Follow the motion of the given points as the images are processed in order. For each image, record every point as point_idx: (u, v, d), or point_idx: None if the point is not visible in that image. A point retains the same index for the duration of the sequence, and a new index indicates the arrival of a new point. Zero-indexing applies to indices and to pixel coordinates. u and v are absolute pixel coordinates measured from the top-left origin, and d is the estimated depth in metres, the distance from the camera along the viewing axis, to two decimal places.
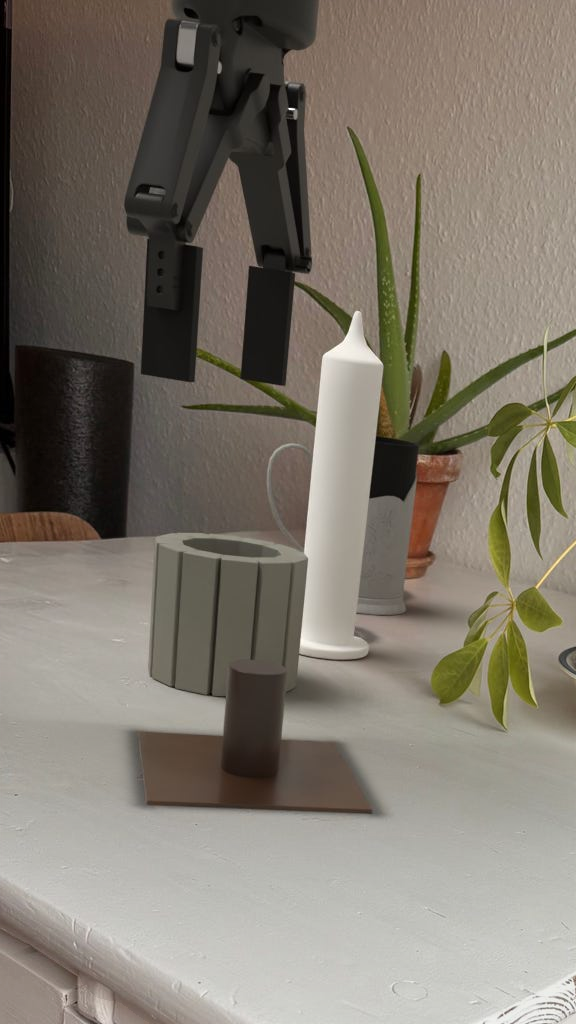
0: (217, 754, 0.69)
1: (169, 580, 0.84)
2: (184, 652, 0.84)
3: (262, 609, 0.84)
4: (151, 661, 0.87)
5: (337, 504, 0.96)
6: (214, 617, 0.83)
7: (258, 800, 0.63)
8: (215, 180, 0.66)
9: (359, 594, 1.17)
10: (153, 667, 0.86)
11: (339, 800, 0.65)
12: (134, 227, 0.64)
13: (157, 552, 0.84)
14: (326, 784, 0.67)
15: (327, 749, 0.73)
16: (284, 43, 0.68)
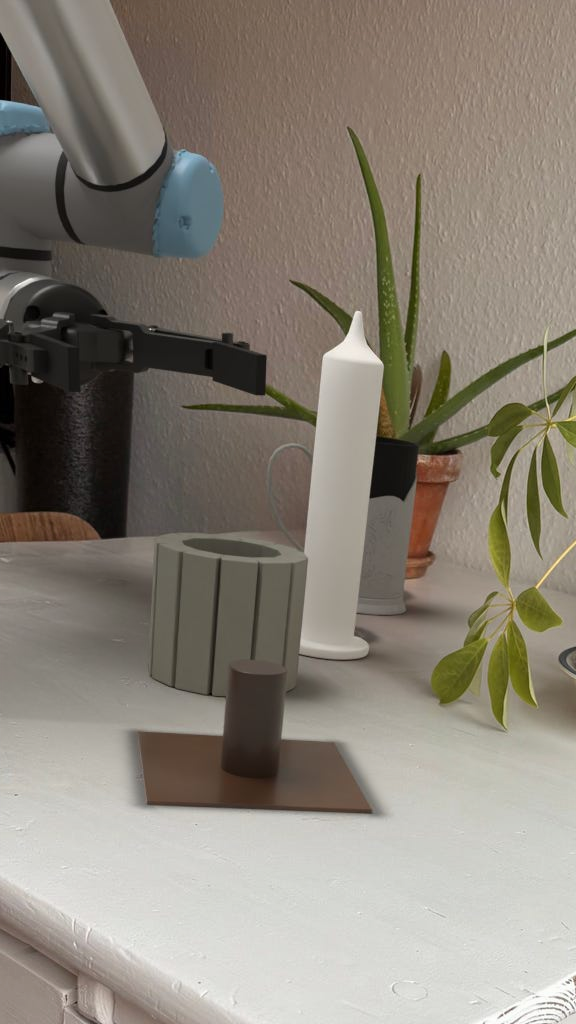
0: (217, 754, 0.69)
1: (169, 580, 0.84)
2: (184, 652, 0.84)
3: (262, 609, 0.84)
4: (151, 661, 0.87)
5: (337, 504, 0.96)
6: (214, 617, 0.83)
7: (258, 800, 0.63)
8: (176, 371, 0.97)
9: (359, 594, 1.17)
10: (153, 667, 0.86)
11: (339, 800, 0.65)
12: (232, 339, 0.95)
13: (157, 552, 0.84)
14: (326, 784, 0.67)
15: (327, 749, 0.73)
16: None
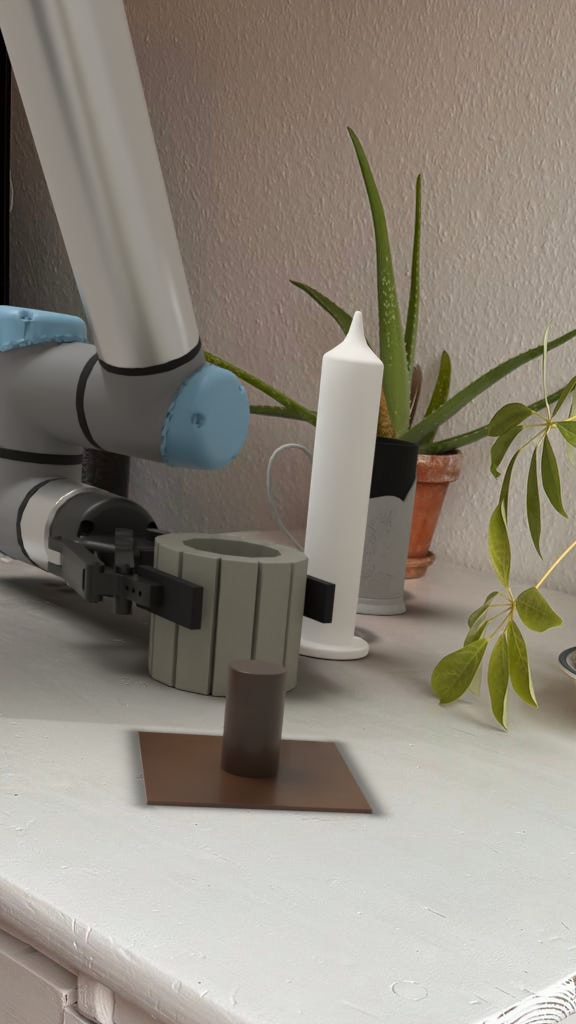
0: (217, 754, 0.69)
1: None
2: (184, 652, 0.84)
3: (262, 609, 0.84)
4: (151, 661, 0.87)
5: (337, 504, 0.96)
6: (215, 617, 0.83)
7: (258, 800, 0.63)
8: None
9: (359, 594, 1.17)
10: (153, 667, 0.86)
11: (339, 800, 0.65)
12: None
13: (157, 552, 0.84)
14: (326, 784, 0.67)
15: (327, 749, 0.73)
16: None
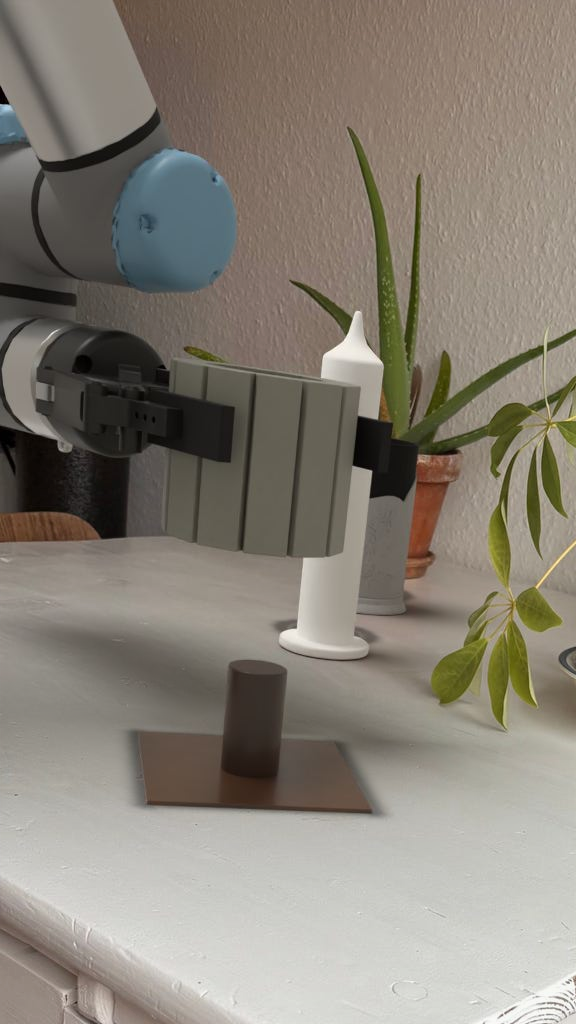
0: (217, 754, 0.69)
1: None
2: (209, 497, 0.67)
3: (307, 443, 0.67)
4: (166, 514, 0.70)
5: None
6: (247, 451, 0.67)
7: (258, 800, 0.63)
8: None
9: (359, 594, 1.17)
10: (168, 521, 0.70)
11: (339, 800, 0.65)
12: None
13: (174, 372, 0.67)
14: (326, 784, 0.67)
15: (327, 749, 0.73)
16: (107, 427, 0.79)
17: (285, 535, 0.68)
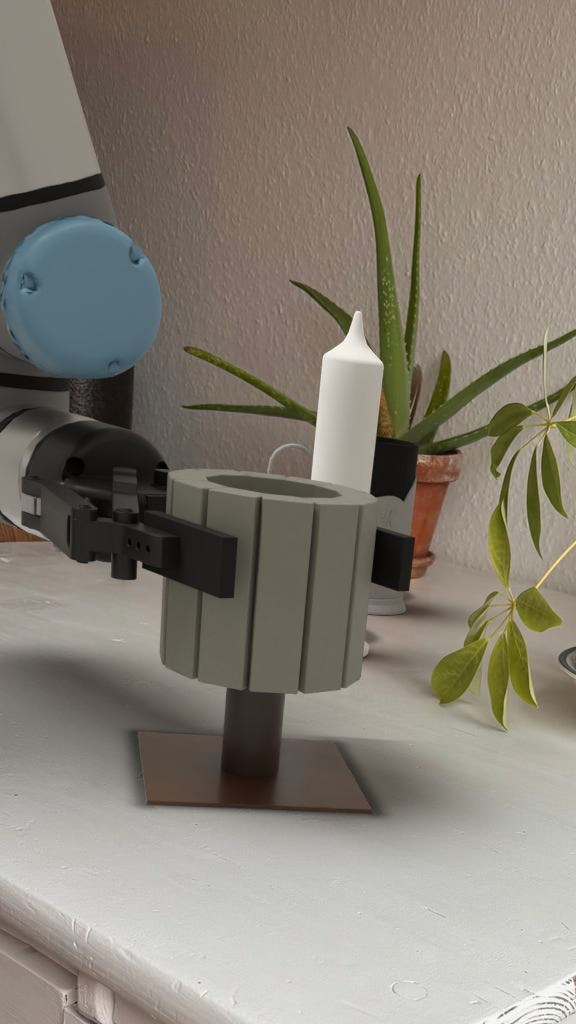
0: (217, 754, 0.69)
1: None
2: (211, 630, 0.60)
3: (319, 570, 0.60)
4: (164, 644, 0.63)
5: None
6: (253, 581, 0.60)
7: (258, 800, 0.63)
8: None
9: None
10: (167, 653, 0.63)
11: (339, 800, 0.65)
12: None
13: (171, 491, 0.60)
14: (326, 784, 0.67)
15: (327, 749, 0.73)
16: None
17: (296, 670, 0.61)
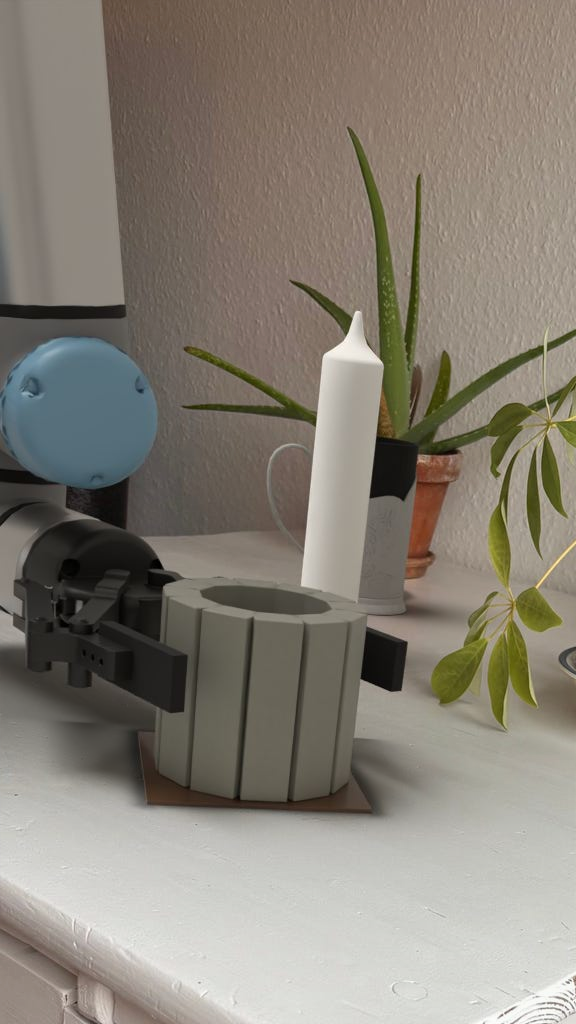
0: None
1: (183, 646, 0.62)
2: (203, 742, 0.62)
3: (308, 685, 0.62)
4: (158, 751, 0.65)
5: (337, 504, 0.96)
6: (244, 696, 0.62)
7: None
8: None
9: (359, 594, 1.17)
10: (161, 760, 0.65)
11: (339, 800, 0.65)
12: None
13: (166, 607, 0.62)
14: None
15: None
16: None
17: (285, 780, 0.63)
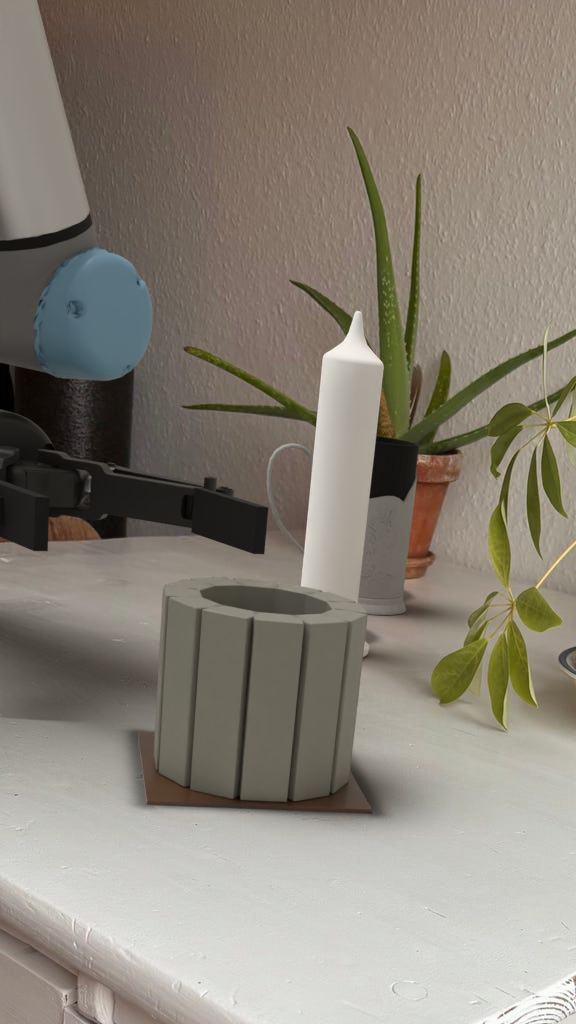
0: None
1: (183, 646, 0.62)
2: (203, 742, 0.62)
3: (308, 685, 0.62)
4: (158, 751, 0.65)
5: (337, 504, 0.96)
6: (244, 696, 0.62)
7: None
8: (144, 519, 0.80)
9: (359, 594, 1.17)
10: (161, 760, 0.65)
11: (339, 800, 0.65)
12: None
13: (166, 607, 0.62)
14: None
15: None
16: None
17: (285, 780, 0.63)
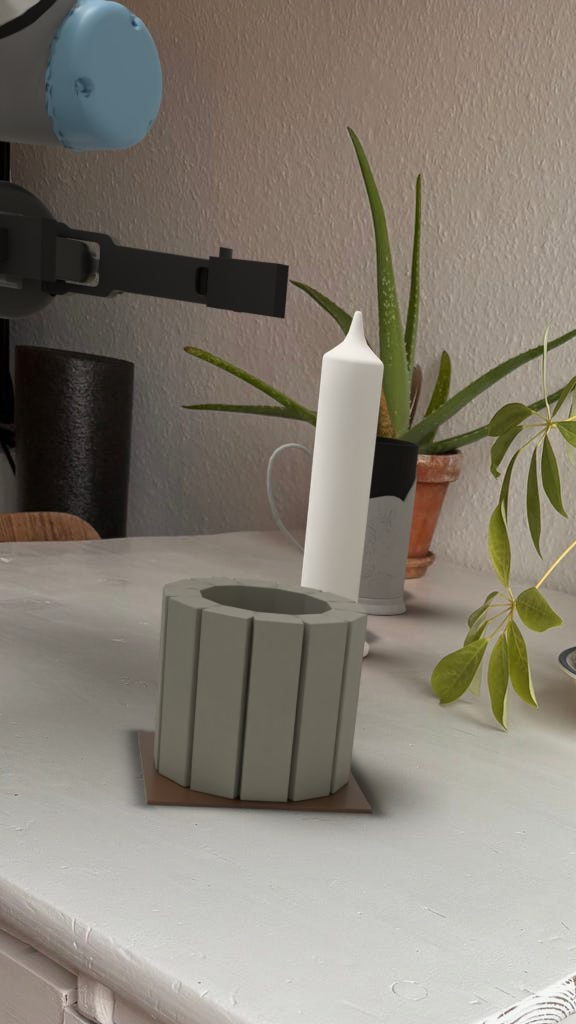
0: None
1: (183, 646, 0.62)
2: (203, 742, 0.62)
3: (308, 685, 0.62)
4: (158, 751, 0.65)
5: (337, 504, 0.96)
6: (244, 696, 0.62)
7: None
8: (156, 296, 0.75)
9: (359, 594, 1.17)
10: (161, 760, 0.65)
11: (339, 800, 0.65)
12: (231, 256, 0.75)
13: (166, 607, 0.62)
14: None
15: None
16: None
17: (285, 780, 0.63)
